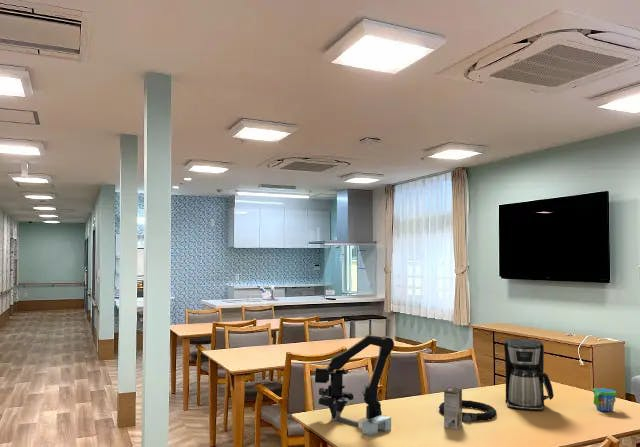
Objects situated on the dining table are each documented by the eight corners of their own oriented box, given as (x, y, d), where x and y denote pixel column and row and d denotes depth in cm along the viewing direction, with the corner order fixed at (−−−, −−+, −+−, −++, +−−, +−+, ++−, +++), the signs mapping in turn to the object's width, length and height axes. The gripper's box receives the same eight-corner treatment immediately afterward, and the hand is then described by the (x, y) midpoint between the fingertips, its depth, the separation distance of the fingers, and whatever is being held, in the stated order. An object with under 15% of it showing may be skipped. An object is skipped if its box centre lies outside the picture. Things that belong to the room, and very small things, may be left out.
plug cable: (330, 419, 249) (330, 411, 249) (336, 418, 252) (336, 410, 252) (367, 430, 234) (367, 422, 234) (373, 428, 237) (373, 420, 237)
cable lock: (495, 401, 275) (498, 417, 246) (495, 409, 274) (498, 426, 246) (440, 397, 282) (436, 411, 253) (440, 404, 282) (436, 420, 253)
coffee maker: (513, 411, 269) (513, 343, 272) (488, 395, 302) (488, 335, 304) (557, 411, 271) (556, 344, 274) (527, 395, 303) (527, 335, 306)
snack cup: (605, 406, 283) (605, 386, 284) (624, 411, 274) (624, 391, 275) (585, 409, 277) (584, 389, 278) (603, 414, 267) (603, 393, 268)
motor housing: (362, 433, 230) (362, 421, 230) (381, 426, 240) (382, 414, 240) (371, 436, 226) (371, 423, 227) (391, 429, 237) (391, 417, 237)
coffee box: (448, 422, 249) (448, 386, 250) (462, 424, 246) (462, 388, 247) (443, 427, 241) (443, 390, 242) (457, 429, 238) (457, 392, 239)
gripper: (336, 377, 263) (336, 410, 262) (310, 383, 249) (309, 417, 248) (354, 381, 255) (353, 415, 254) (328, 387, 242) (327, 423, 240)
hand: (336, 417), depth 249 cm, fingers closed on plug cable, 3 cm apart
